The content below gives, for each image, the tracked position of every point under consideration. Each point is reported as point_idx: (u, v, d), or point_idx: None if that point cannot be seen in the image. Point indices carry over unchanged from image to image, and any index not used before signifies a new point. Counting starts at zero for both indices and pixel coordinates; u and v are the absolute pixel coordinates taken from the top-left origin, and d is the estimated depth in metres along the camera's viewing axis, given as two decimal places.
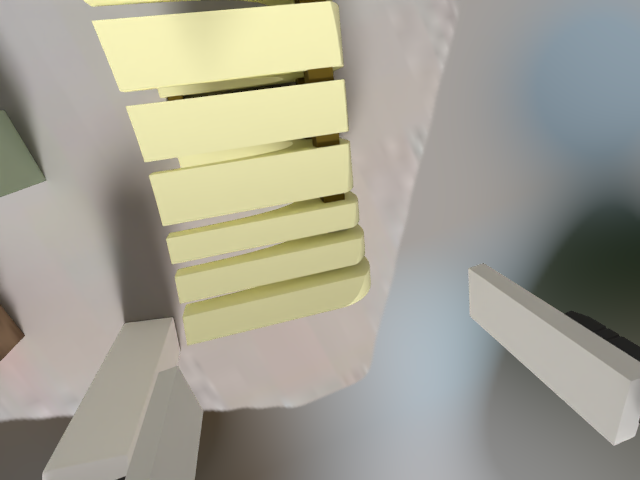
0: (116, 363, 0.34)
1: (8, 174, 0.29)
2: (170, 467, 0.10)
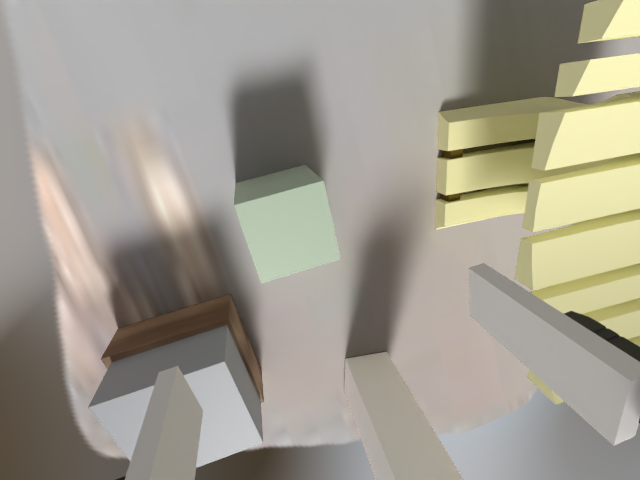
0: (378, 404, 0.35)
1: None
2: (170, 467, 0.10)
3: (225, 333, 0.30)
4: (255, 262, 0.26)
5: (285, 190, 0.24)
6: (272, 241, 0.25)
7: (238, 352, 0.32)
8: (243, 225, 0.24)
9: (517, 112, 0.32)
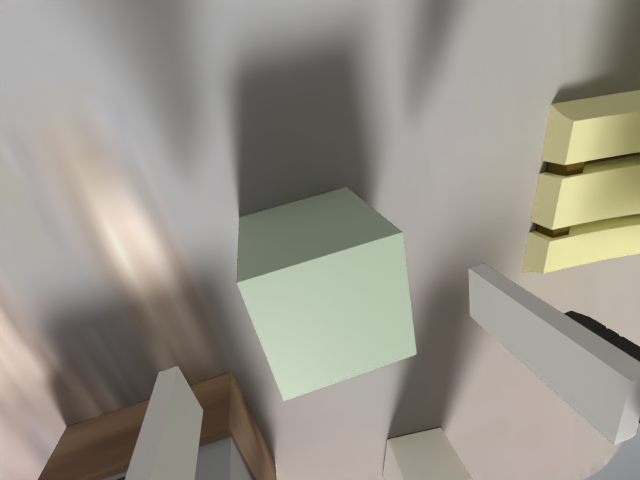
0: None
1: None
2: (170, 467, 0.10)
3: (228, 457, 0.19)
4: (274, 371, 0.15)
5: (332, 251, 0.13)
6: (306, 336, 0.14)
7: (246, 472, 0.21)
8: (254, 315, 0.13)
9: None
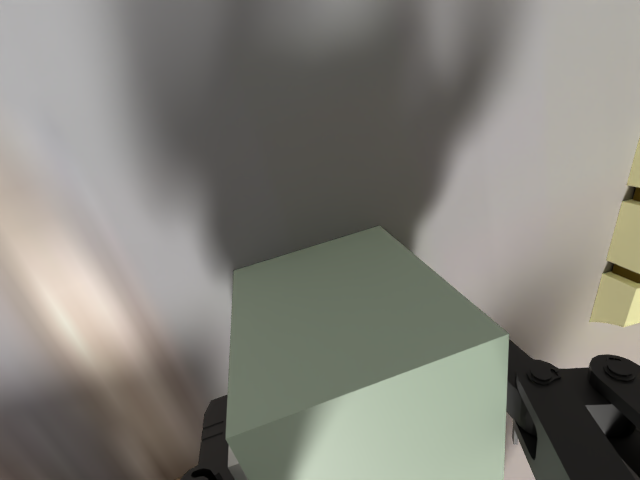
0: None
1: None
2: None
3: None
4: None
5: (390, 369, 0.08)
6: None
7: None
8: (257, 479, 0.08)
9: None
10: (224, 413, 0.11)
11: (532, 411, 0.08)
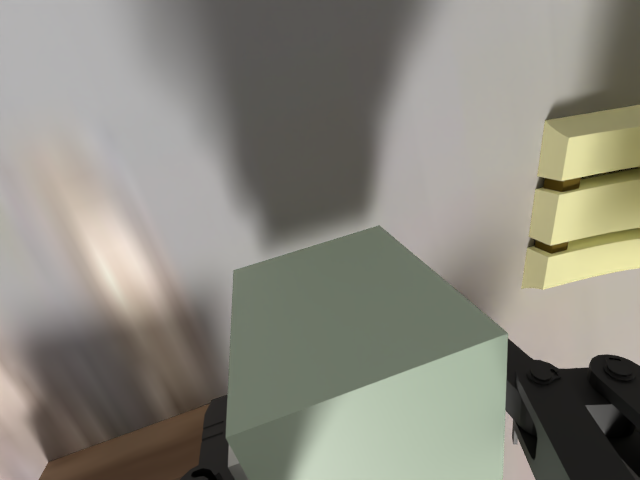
0: None
1: None
2: None
3: None
4: None
5: (390, 369, 0.08)
6: None
7: None
8: (257, 478, 0.08)
9: None
10: (224, 413, 0.11)
11: (532, 411, 0.08)
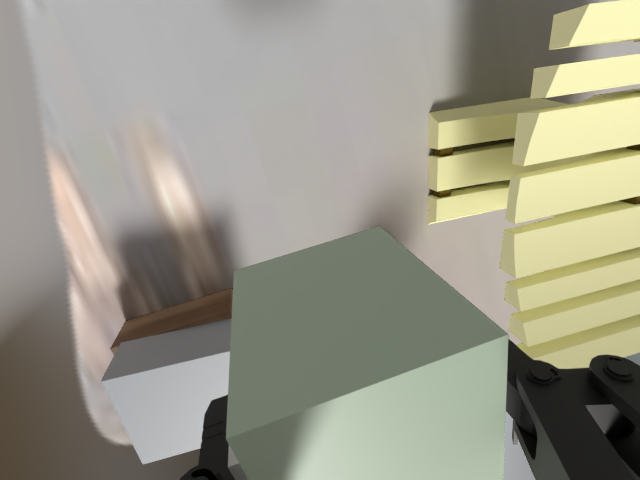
0: None
1: None
2: None
3: None
4: None
5: (390, 370, 0.08)
6: None
7: None
8: None
9: (504, 112, 0.34)
10: (224, 413, 0.11)
11: (532, 411, 0.08)
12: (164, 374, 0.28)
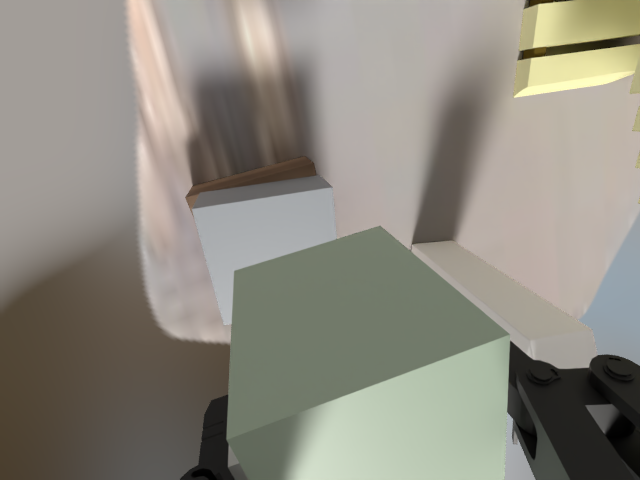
0: (458, 270, 0.34)
1: None
2: None
3: (321, 178, 0.29)
4: None
5: (391, 370, 0.08)
6: None
7: None
8: None
9: None
10: (224, 413, 0.11)
11: (532, 411, 0.08)
12: (258, 208, 0.25)
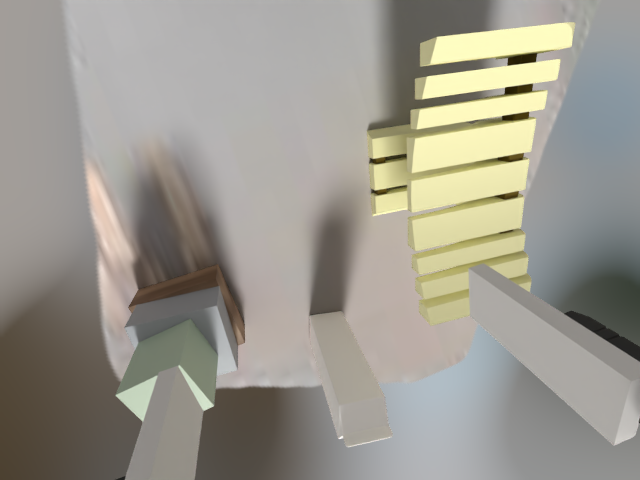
0: (328, 343, 0.49)
1: (209, 374, 0.38)
2: (170, 467, 0.10)
3: (217, 290, 0.43)
4: None
5: (152, 376, 0.33)
6: None
7: (225, 306, 0.46)
8: (127, 404, 0.33)
9: (423, 131, 0.46)
10: None
11: None
12: (168, 323, 0.39)
